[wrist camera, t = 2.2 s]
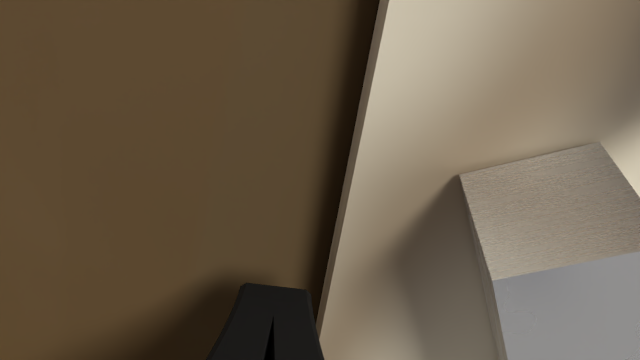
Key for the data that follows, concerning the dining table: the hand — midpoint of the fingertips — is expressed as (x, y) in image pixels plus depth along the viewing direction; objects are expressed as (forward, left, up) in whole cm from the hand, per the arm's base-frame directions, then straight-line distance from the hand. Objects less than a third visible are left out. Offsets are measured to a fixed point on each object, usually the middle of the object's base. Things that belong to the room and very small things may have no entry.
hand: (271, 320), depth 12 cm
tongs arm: (-7, +2, -1) cm, 7 cm away
